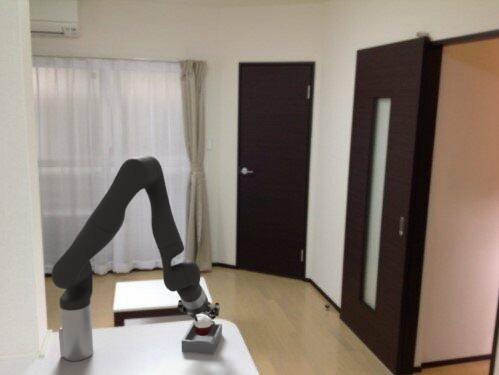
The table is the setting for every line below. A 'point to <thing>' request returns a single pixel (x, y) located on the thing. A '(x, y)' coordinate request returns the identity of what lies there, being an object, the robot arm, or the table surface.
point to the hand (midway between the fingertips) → (203, 315)
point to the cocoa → (202, 324)
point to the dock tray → (201, 340)
